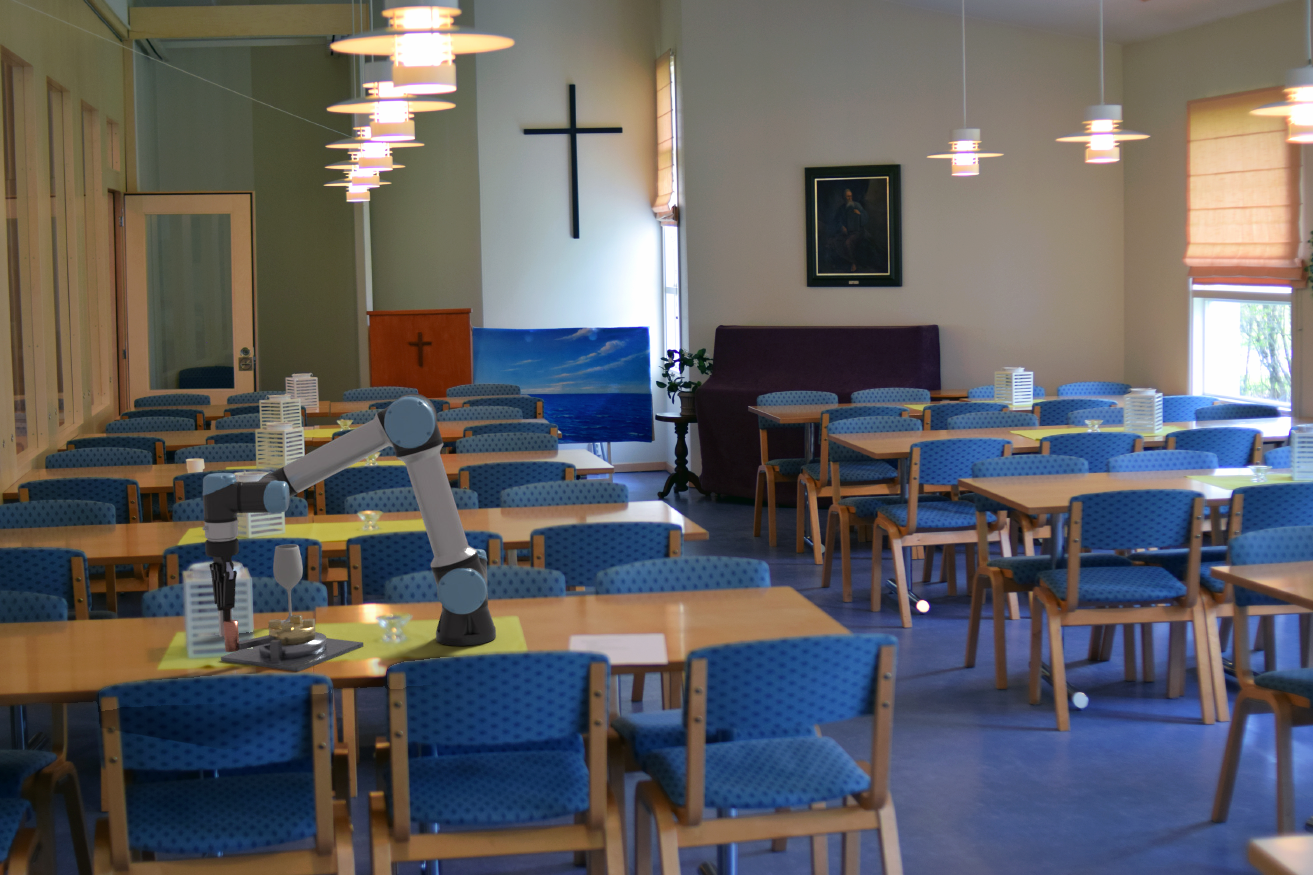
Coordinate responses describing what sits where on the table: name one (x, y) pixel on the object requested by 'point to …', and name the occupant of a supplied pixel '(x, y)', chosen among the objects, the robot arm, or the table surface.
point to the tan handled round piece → (271, 633)
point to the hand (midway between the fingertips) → (225, 635)
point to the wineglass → (287, 569)
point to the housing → (293, 653)
